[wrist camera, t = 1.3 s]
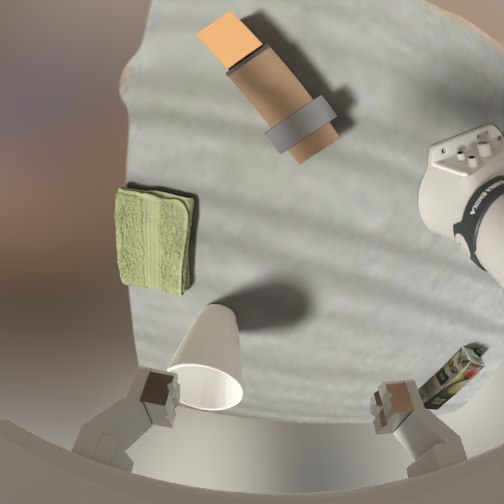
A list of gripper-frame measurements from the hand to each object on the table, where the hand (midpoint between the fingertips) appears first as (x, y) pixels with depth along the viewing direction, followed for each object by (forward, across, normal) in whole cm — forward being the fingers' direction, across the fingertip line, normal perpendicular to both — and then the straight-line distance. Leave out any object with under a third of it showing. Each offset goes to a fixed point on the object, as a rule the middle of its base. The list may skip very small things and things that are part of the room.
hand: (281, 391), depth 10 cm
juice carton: (+33, -52, +44) cm, 76 cm away
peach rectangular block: (+33, +6, -18) cm, 38 cm away
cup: (+33, +7, +26) cm, 43 cm away
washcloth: (+34, +18, +12) cm, 40 cm away
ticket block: (+33, 0, -10) cm, 35 cm away
